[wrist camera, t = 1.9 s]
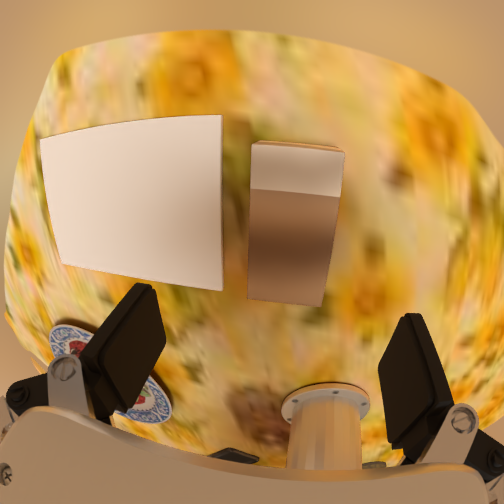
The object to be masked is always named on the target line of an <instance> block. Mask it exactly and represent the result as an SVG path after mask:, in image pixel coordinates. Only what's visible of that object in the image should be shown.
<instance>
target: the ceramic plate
mask: <svg viewBox="0 0 504 504" xmlns="http://www.w3.org/2000/svg"><path fill="white" fill-rule="evenodd" d="M93 335H94V334H92V333H90V332H88V331H86V330H84V329H82V328H79V327H76V326H72V325H66V324H60V325H57V326H55V327H53V328H52V329H51V331H50V334H49V343H50V346H51V350H52V352H53V355H54V356H55V358H56V357H58V356H60V355H62V354H72V355H74V356H76V357H77V358H78V357H79V356H80V355H81V354H80V353H81V351H82V350H83V349H84V347H85V346H86V345H87V343H88V342H89V341H90V339H91V338H92V337H93ZM114 412H115V413H117V414H119V415H121V416H123V417H126V418H129V419H131V420H134V421H138V422H142V423H150V424H157V423H163V422H166V421H167V420H168V419H169V418H170V417H171V414H172V406H171V403H170V401H169V399H168V397H167V395H166V394H165V392H164V391H163V390H162V388H161V387H160V386H159V385H158V384H157V382H156V381H155V380H154V379H153V378H152V377H151V376H150V375H149V377H148V379H147V381H146V383H145V385H144V387H143V389H142V391H141V393H140V395H139V397H138V399H137V401H136V403H135V405H134V406H133V408H131V409H128V411H127V413H126V414H124V413H122V412H119V411H117V410H115V411H114Z"/></svg>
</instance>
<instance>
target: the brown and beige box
mask: <svg viewBox="0 0 504 504" xmlns="http://www.w3.org/2000/svg"><path fill="white" fill-rule="evenodd" d="M344 159H345V152H343V151H342V150H340V149H339V148H338V147H331V146H323V145H314V144H304V143H293V142H280V141H264V140H260V141H258V142H256V143H253V144H252V149H251V181H250V214H249V249H248V285H247V299H254V300H262V301H270V302H279V303H287V304H297V305H306V306H316V307H321V304H322V300H323V295H324V290H325V285H326V280H327V275H328V270H329V264H330V259H331V253H332V247H333V241H334V235H335V229H336V222H337V216H338V209H339V201H340V194H341V186H342V178H343V169H344Z"/></svg>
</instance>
